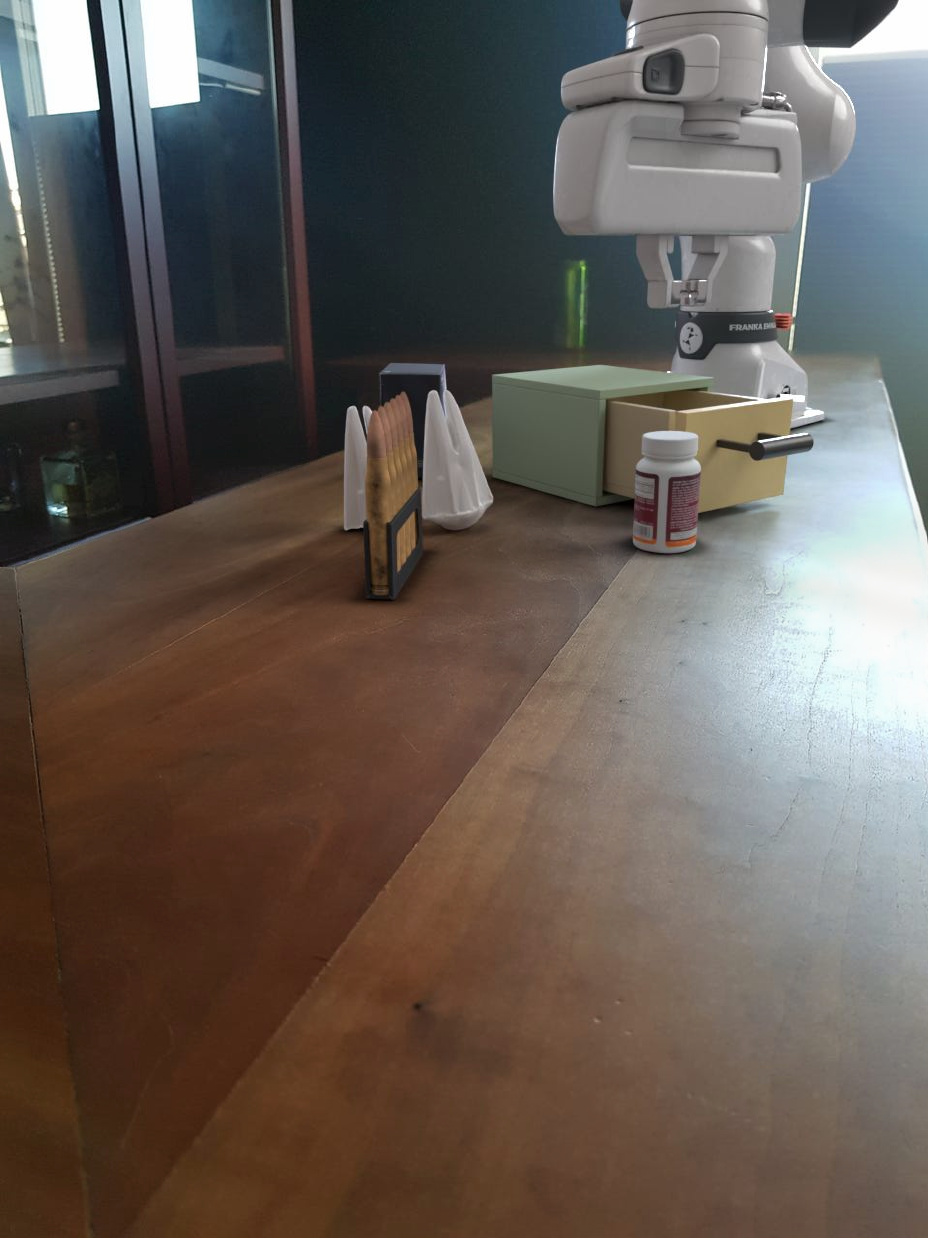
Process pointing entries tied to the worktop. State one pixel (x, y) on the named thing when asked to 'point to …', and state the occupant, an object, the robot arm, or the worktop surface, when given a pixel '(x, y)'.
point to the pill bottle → (667, 492)
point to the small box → (413, 394)
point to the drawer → (706, 442)
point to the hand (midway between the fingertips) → (678, 307)
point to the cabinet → (566, 425)
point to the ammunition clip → (391, 501)
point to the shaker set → (425, 468)
